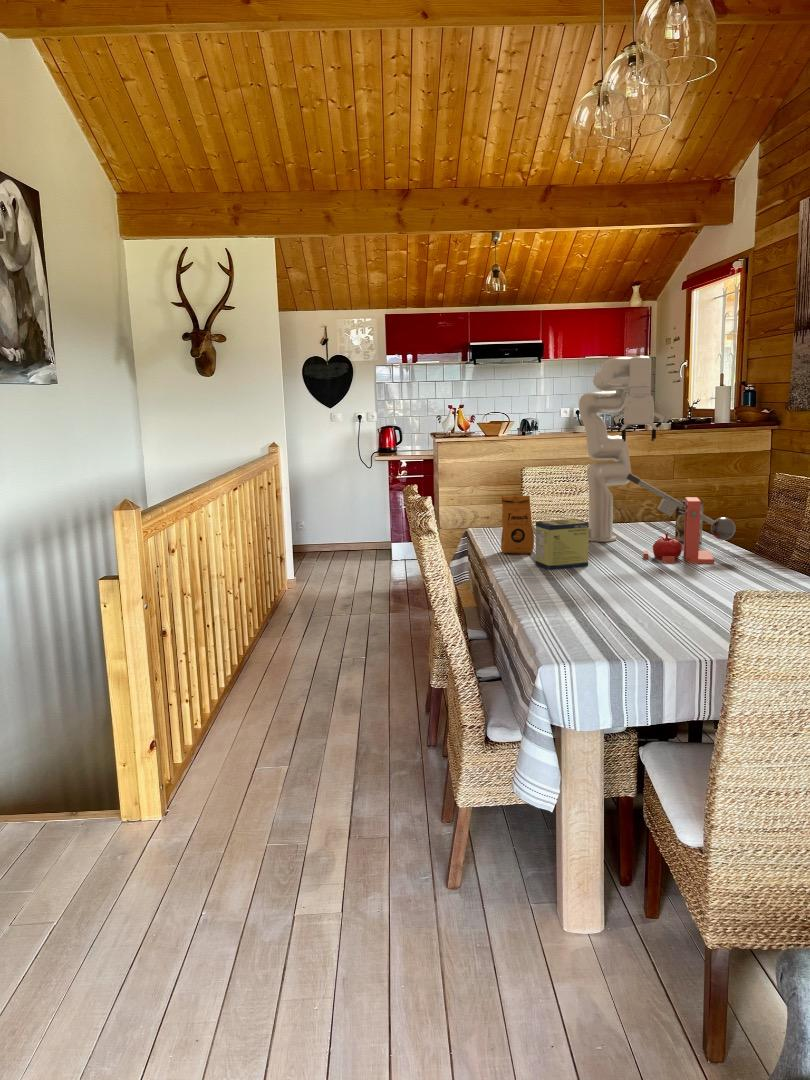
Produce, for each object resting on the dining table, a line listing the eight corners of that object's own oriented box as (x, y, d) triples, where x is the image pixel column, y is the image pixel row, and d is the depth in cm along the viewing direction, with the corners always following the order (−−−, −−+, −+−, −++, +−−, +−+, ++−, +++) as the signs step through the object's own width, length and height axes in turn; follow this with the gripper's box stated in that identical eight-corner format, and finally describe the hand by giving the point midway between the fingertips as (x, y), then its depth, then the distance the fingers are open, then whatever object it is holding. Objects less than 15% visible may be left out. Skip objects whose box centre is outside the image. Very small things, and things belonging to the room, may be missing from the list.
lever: (620, 488, 278) (634, 466, 276) (620, 486, 286) (633, 464, 283) (726, 548, 272) (741, 526, 270) (723, 544, 280) (738, 522, 277)
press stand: (644, 562, 276) (645, 501, 273) (643, 553, 292) (644, 496, 288) (714, 563, 270) (716, 502, 267) (709, 554, 286) (711, 496, 282)
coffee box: (674, 539, 317) (675, 500, 314) (687, 538, 319) (689, 499, 316) (688, 543, 308) (690, 502, 306) (702, 542, 310) (704, 501, 307)
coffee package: (534, 555, 294) (534, 496, 290) (500, 555, 296) (500, 497, 292) (533, 550, 304) (533, 493, 300) (501, 550, 306) (500, 494, 302)
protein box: (589, 566, 273) (589, 521, 270) (548, 570, 268) (548, 525, 265) (573, 560, 282) (574, 518, 280) (534, 564, 278) (534, 521, 275)
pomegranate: (676, 562, 275) (677, 536, 273) (648, 559, 281) (649, 534, 279) (685, 557, 283) (686, 531, 281) (658, 554, 289) (658, 529, 287)
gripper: (613, 393, 277) (613, 442, 279) (665, 391, 271) (664, 441, 274) (614, 393, 284) (614, 441, 287) (665, 391, 279) (663, 440, 281)
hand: (638, 441), depth 280 cm, fingers open, 9 cm apart
